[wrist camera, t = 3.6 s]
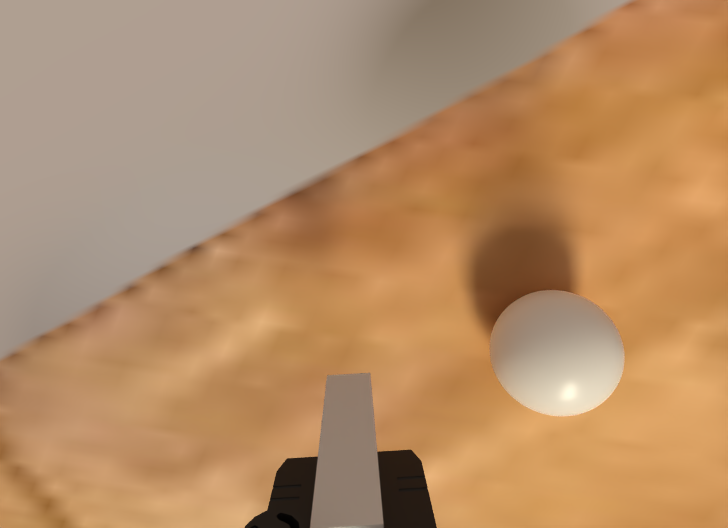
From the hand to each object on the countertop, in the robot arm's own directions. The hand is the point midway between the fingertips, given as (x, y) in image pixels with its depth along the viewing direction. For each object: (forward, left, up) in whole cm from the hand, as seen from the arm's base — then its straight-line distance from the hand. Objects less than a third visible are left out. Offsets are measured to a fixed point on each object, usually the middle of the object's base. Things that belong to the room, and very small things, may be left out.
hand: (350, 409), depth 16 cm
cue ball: (+9, 0, -4) cm, 10 cm away
